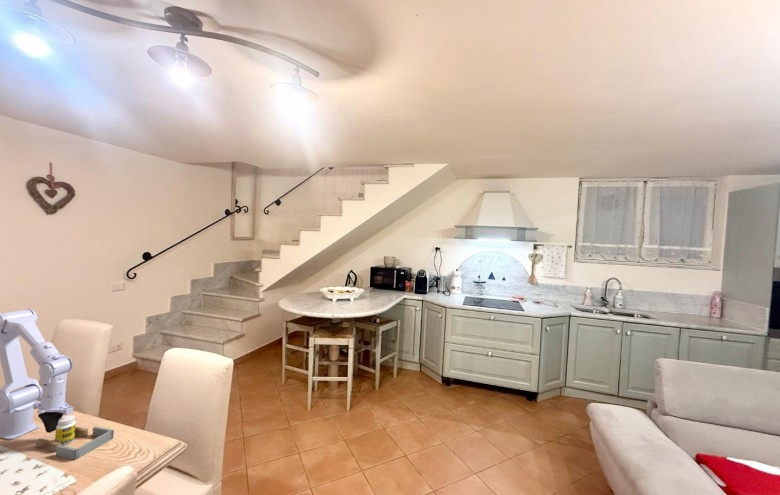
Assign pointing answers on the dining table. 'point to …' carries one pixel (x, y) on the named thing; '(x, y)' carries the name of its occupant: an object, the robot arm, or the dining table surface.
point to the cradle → (74, 453)
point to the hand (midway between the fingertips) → (51, 431)
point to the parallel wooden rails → (52, 445)
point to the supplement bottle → (65, 430)
